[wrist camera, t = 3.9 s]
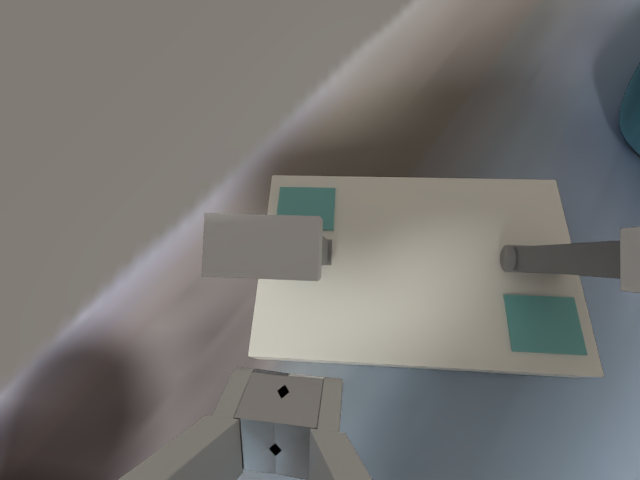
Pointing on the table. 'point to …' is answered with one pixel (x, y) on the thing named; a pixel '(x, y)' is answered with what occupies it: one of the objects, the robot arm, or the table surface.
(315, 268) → the lever
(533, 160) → the table surface
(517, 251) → the lever
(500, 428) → the table surface
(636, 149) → the casserole dish
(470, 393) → the table surface
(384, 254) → the switch panel
